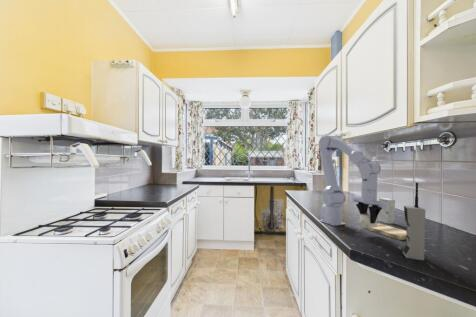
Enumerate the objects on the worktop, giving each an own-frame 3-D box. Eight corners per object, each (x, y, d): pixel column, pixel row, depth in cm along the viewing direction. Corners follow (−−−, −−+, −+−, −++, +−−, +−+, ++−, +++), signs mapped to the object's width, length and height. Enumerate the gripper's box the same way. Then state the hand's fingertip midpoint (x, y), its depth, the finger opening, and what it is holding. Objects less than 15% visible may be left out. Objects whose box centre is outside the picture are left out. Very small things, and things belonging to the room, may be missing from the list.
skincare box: (377, 220, 124) (378, 197, 124) (384, 220, 125) (384, 197, 125) (388, 224, 118) (388, 199, 118) (394, 223, 119) (395, 199, 119)
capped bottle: (355, 226, 99) (355, 214, 99) (370, 224, 103) (371, 212, 103) (362, 228, 96) (363, 216, 96) (378, 226, 100) (378, 214, 100)
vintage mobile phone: (402, 253, 81) (404, 181, 81) (420, 256, 79) (422, 182, 79) (405, 258, 78) (407, 182, 77) (424, 260, 76) (426, 183, 75)
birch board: (364, 228, 109) (364, 225, 109) (379, 226, 113) (379, 223, 113) (400, 240, 95) (400, 236, 95) (415, 237, 99) (415, 233, 99)
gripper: (348, 187, 105) (347, 218, 105) (379, 192, 92) (378, 227, 92) (359, 187, 108) (358, 216, 108) (390, 192, 94) (390, 225, 95)
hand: (368, 221), depth 100 cm, fingers closed on capped bottle, 4 cm apart
